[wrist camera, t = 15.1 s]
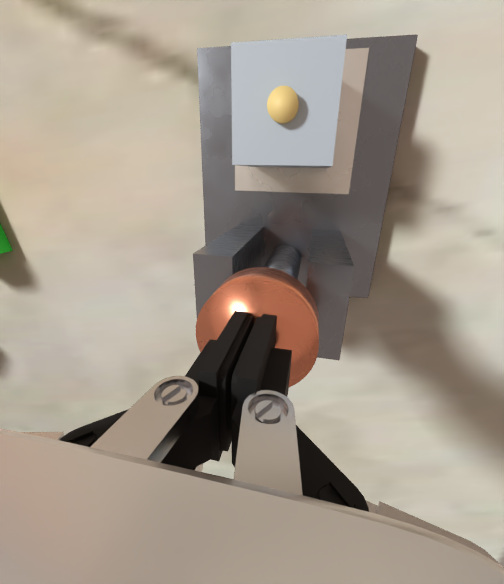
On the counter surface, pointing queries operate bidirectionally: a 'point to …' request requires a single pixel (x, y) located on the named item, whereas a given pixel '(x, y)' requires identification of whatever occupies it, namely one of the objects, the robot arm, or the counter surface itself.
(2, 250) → the mechanical part
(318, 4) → the counter surface
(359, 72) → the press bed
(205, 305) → the ram
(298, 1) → the counter surface
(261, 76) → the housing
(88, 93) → the counter surface
